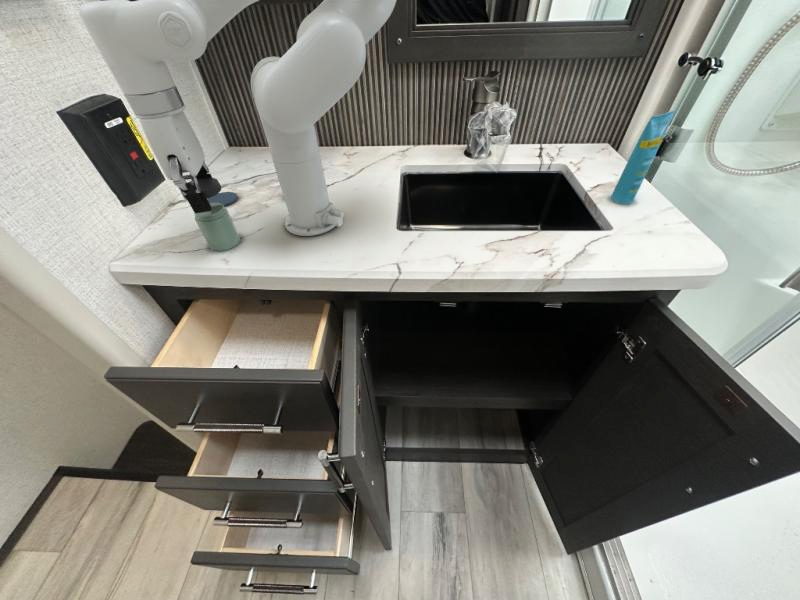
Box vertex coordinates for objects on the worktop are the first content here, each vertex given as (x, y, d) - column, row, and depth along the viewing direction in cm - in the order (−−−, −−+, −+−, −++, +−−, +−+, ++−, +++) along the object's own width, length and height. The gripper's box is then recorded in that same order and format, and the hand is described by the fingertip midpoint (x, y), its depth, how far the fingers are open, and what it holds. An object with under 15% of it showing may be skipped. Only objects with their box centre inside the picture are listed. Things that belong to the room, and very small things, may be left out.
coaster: (244, 197, 88) (243, 194, 88) (221, 210, 83) (220, 208, 83) (223, 191, 91) (223, 189, 90) (201, 204, 86) (200, 202, 86)
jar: (246, 237, 74) (232, 203, 68) (226, 253, 70) (209, 219, 64) (223, 232, 76) (208, 199, 70) (203, 248, 72) (184, 214, 66)
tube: (622, 208, 78) (665, 119, 64) (603, 200, 81) (641, 113, 67) (639, 199, 80) (685, 111, 67) (620, 191, 83) (660, 106, 70)
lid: (229, 187, 66) (226, 179, 65) (202, 203, 62) (198, 196, 60) (204, 182, 68) (200, 175, 67) (176, 198, 64) (171, 190, 63)
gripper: (148, 92, 59) (196, 186, 72) (111, 121, 47) (177, 228, 60) (192, 87, 60) (232, 181, 73) (166, 114, 48) (220, 221, 61)
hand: (207, 201), depth 66 cm, fingers closed on lid, 6 cm apart
